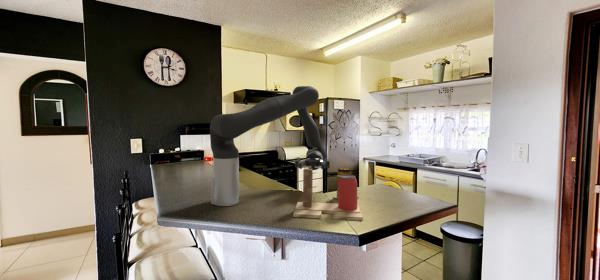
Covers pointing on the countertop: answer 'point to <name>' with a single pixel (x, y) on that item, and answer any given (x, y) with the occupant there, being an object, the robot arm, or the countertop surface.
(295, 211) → the broken strip
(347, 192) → the beer can
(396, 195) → the countertop surface
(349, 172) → the condiment
